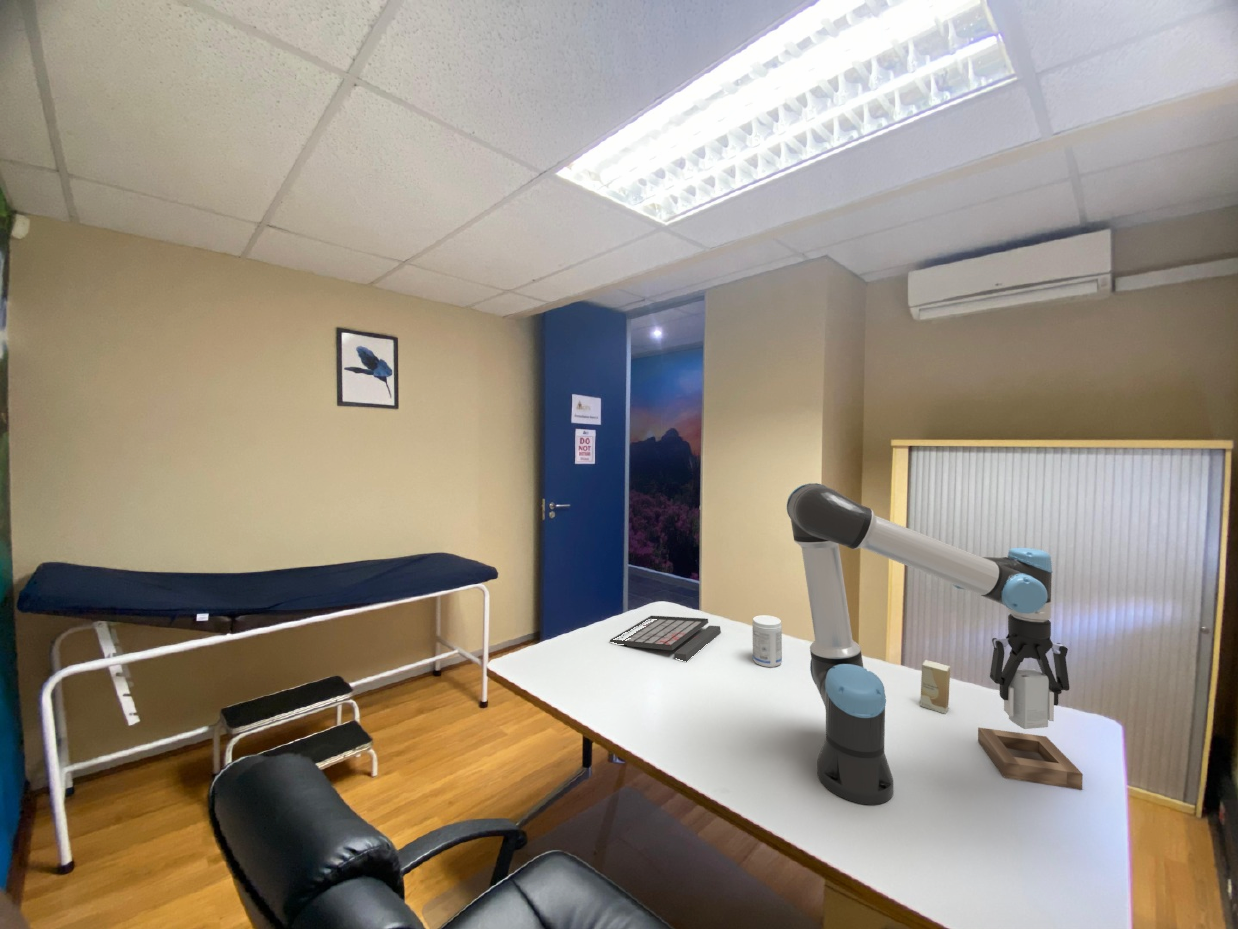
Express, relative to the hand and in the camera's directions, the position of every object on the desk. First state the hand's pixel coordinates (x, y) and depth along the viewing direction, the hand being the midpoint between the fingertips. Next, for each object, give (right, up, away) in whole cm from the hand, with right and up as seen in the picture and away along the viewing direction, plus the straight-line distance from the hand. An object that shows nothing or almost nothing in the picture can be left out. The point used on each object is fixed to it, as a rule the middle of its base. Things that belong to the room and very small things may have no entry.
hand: (1028, 715), depth 112 cm
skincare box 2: (0, -2, 0) cm, 2 cm away
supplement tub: (-43, -10, +55) cm, 71 cm away
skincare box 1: (-5, -11, +25) cm, 28 cm away
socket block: (0, -11, 0) cm, 11 cm away
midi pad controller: (-76, -10, +77) cm, 108 cm away
